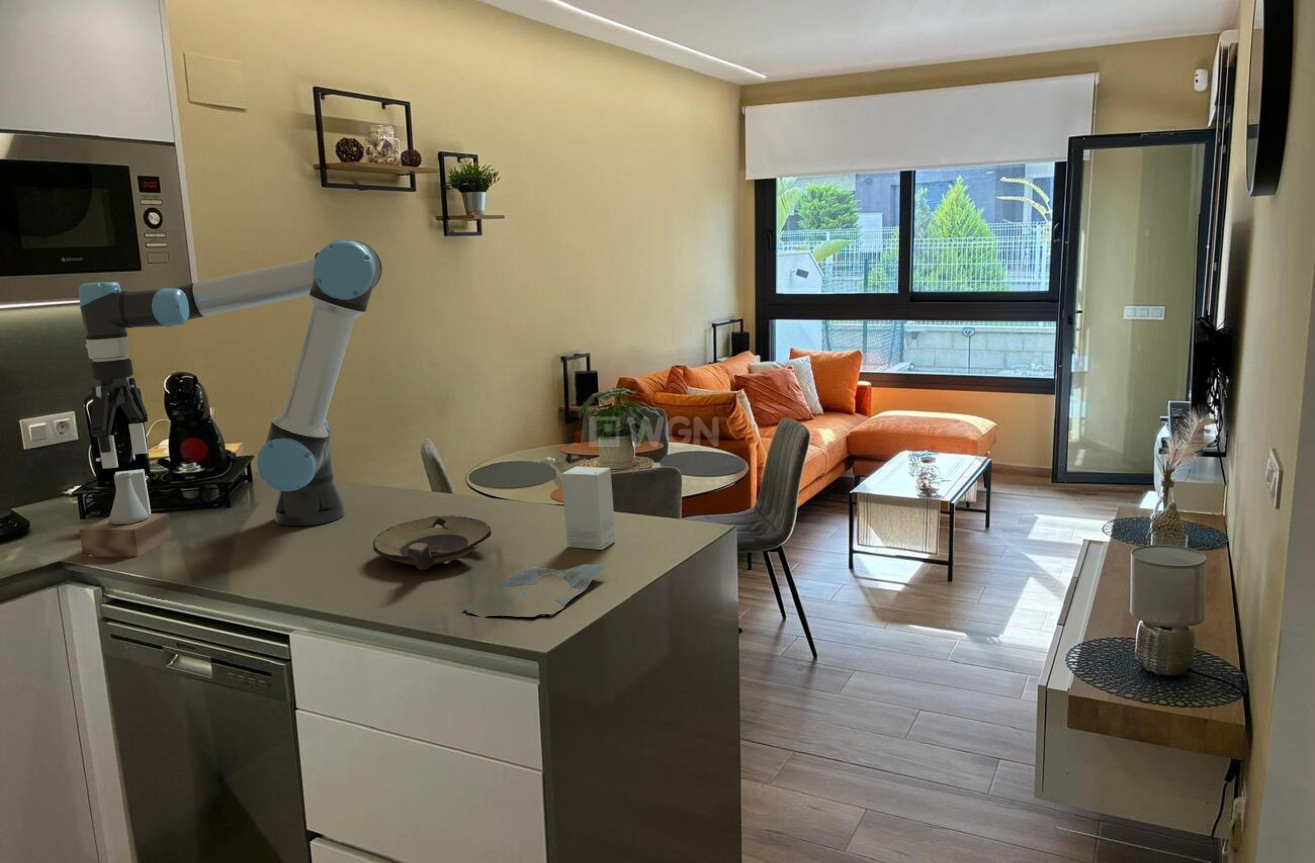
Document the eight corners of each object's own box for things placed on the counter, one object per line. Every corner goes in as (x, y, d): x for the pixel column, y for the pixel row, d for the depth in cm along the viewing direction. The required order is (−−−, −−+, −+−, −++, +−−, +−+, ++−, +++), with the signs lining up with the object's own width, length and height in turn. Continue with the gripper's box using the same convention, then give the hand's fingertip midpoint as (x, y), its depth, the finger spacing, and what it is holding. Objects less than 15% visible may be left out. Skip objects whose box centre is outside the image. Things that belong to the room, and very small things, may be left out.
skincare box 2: (616, 542, 200) (613, 467, 197) (601, 551, 194) (597, 474, 192) (580, 538, 204) (576, 464, 201) (564, 547, 198) (560, 471, 195)
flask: (156, 517, 210) (150, 471, 208) (129, 526, 203) (123, 479, 201) (128, 515, 212) (122, 469, 210) (101, 524, 205) (94, 477, 203)
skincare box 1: (152, 518, 230) (145, 467, 228) (151, 523, 226) (144, 471, 224) (122, 522, 228) (115, 471, 225) (120, 527, 224) (113, 475, 221)
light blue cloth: (543, 634, 158) (541, 621, 157) (459, 624, 164) (457, 612, 164) (609, 576, 180) (607, 564, 179) (533, 569, 186) (531, 558, 185)
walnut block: (172, 540, 213) (169, 513, 212) (138, 557, 201) (134, 529, 200) (120, 540, 214) (116, 513, 213) (83, 557, 203) (79, 529, 201)
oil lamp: (512, 542, 203) (510, 506, 201) (436, 592, 175) (432, 550, 173) (417, 536, 210) (415, 501, 208) (329, 582, 182) (325, 542, 180)
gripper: (119, 353, 213) (134, 449, 217) (59, 367, 189) (77, 475, 193) (155, 351, 214) (169, 447, 218) (99, 365, 189) (116, 472, 193)
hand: (126, 460), depth 205 cm, fingers open, 13 cm apart
